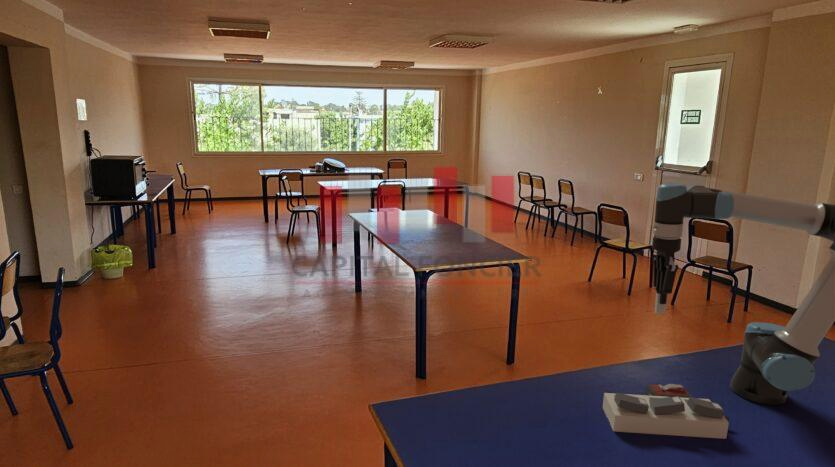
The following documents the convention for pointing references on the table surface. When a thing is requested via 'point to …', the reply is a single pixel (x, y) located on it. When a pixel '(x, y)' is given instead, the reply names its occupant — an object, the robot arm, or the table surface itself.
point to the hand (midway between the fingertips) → (659, 312)
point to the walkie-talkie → (668, 391)
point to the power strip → (664, 420)
